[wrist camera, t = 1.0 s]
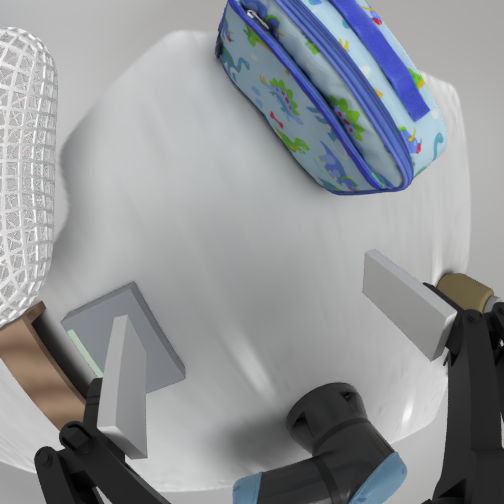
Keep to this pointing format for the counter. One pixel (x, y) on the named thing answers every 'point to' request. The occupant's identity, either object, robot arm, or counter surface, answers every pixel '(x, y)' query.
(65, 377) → the walnut tunnel
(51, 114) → the heart
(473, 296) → the squeeze bottle
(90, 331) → the panel
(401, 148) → the lunch box
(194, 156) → the counter surface
